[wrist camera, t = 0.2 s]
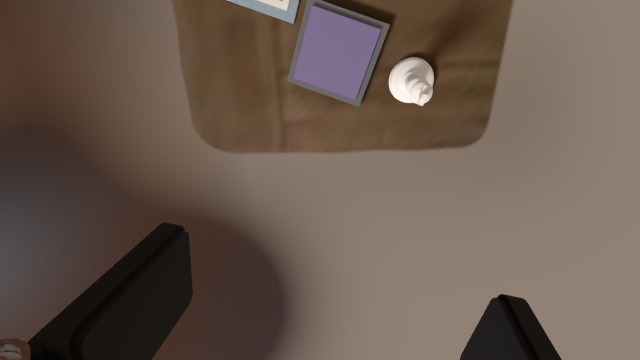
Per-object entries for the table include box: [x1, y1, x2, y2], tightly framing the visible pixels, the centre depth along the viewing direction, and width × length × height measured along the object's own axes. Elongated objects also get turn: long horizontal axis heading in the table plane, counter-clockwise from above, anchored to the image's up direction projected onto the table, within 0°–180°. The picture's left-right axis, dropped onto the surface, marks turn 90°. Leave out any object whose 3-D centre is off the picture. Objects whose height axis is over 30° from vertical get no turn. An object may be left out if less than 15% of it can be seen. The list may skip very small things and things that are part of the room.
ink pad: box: [287, 0, 390, 107], centre depth 34 cm, size 9×9×1 cm
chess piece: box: [389, 57, 434, 106], centre depth 30 cm, size 5×5×10 cm
